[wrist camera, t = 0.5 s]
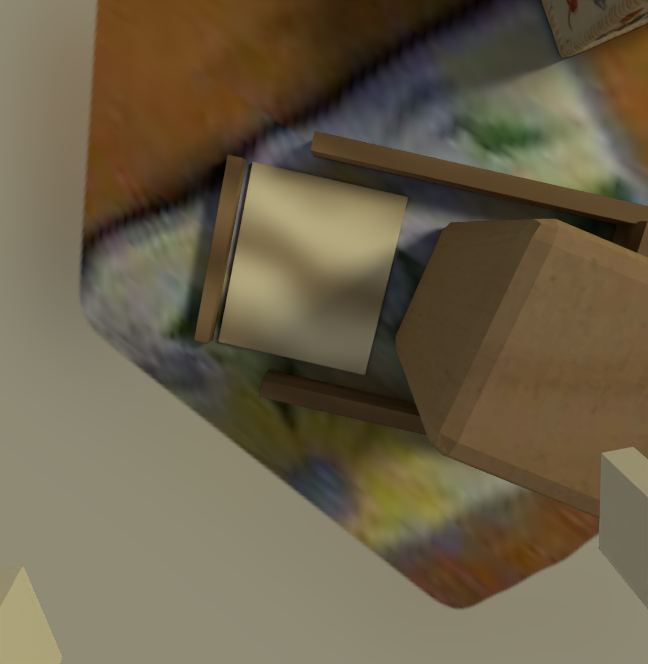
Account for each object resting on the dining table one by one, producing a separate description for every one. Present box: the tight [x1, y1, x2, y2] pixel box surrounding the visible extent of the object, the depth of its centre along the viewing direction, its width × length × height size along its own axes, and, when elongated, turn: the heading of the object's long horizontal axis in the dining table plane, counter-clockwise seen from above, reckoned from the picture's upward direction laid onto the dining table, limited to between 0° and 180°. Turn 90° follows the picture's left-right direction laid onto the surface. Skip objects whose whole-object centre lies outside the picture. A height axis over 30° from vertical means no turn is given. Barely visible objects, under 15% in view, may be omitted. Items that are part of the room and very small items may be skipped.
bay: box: [194, 131, 648, 435], centre depth 39 cm, size 18×28×4 cm, turn 77°
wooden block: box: [395, 219, 648, 518], centre depth 31 cm, size 10×10×20 cm
